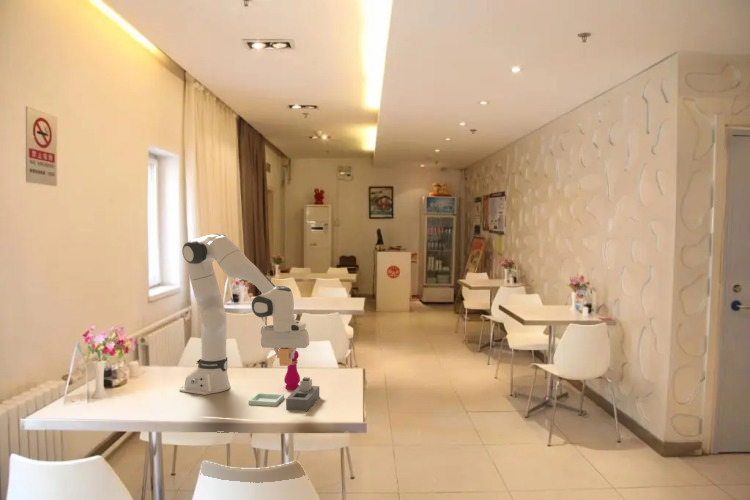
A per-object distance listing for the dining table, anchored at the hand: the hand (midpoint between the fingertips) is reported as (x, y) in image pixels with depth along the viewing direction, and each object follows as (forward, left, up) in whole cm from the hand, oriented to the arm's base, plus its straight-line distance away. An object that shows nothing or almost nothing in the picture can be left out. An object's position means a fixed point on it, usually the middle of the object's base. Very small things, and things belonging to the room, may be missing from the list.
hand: (285, 357), depth 208 cm
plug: (0, 0, -3) cm, 3 cm away
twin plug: (+6, +8, -18) cm, 21 cm away
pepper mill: (-5, +22, -21) cm, 30 cm away
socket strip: (+6, +4, -20) cm, 22 cm away
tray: (-10, +3, -20) cm, 23 cm away
